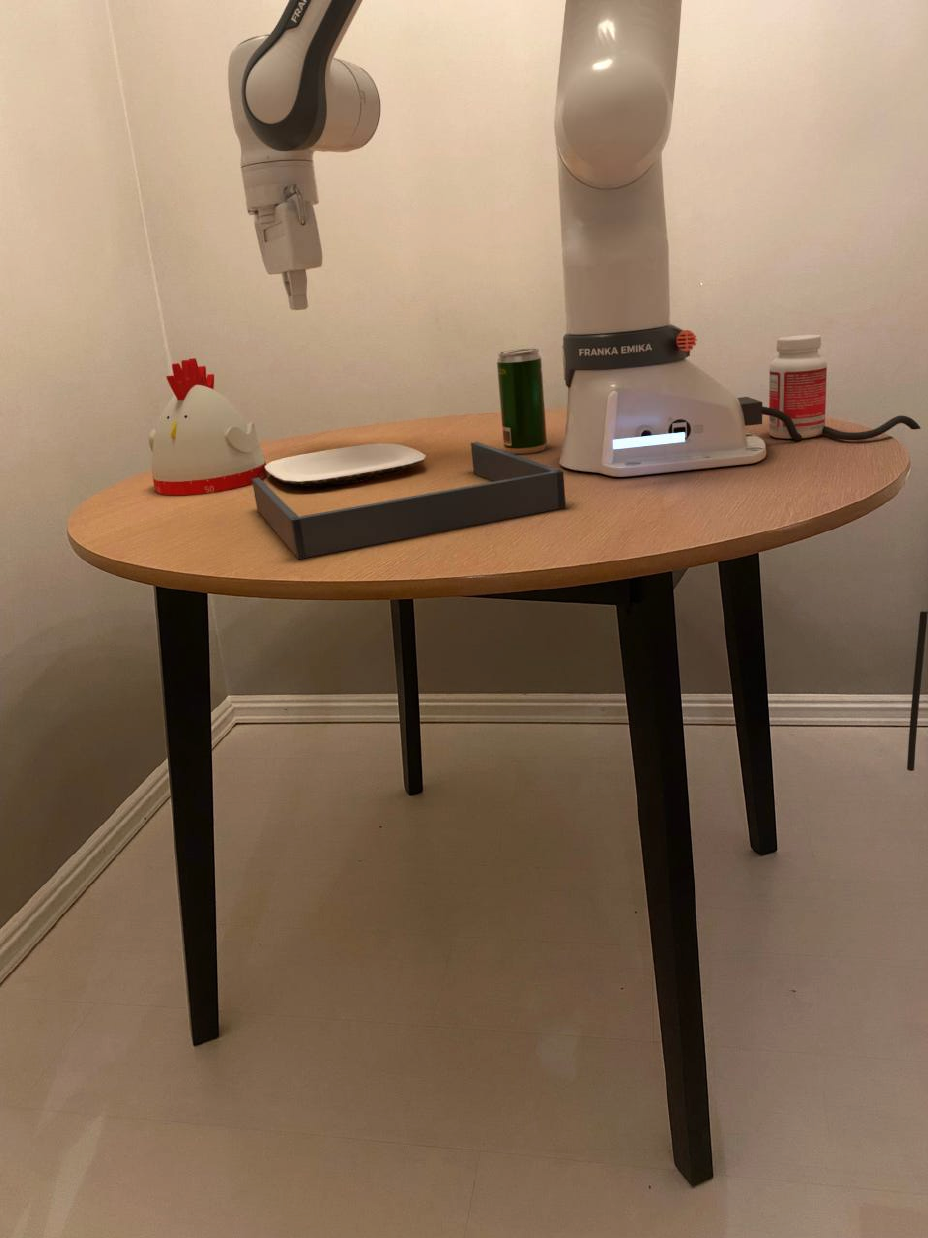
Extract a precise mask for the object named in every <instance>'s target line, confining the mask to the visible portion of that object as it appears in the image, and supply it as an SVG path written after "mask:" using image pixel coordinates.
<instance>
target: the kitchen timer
mask: <svg viewBox="0 0 928 1238" xmlns="http://www.w3.org/2000/svg"><path fill="white" fill-rule="evenodd" d="M180 361H181V362H177V363H171V369H172V374H173V375H166V376H165V377H166V380H167V382H168V385H169V387H170V388H171V390H172V393H173V394H174V395H173V396H172V398H171V399H170V400H169V401H168V402H167V404H166V405H165V406H164V408H163V411H162V412H161V414H160V416H159V419H158V421H157V424H156V427H155V429H152V430H151V431H149V436H148V443H149V448H150V451H151V452H152V453H151V477H152V481H153V485H154V491H155V493H157V494H159V495H165V496H193V495H203V494H204V495H205V494H211V493H218V492H223V491H229V490H234V489H238V488H241V487H246V486H249V485H253V483H252V479H254V478H260V479H261V480H262V481H263V480H264V479H266V478H267V476H268V475H269V473H268V472H266V470H265V466H266V465H267V461H266V457H265V455H264V451H263V449H262V447H261V445H260V443H259V440H258V436H257V430H256V426H255V424H254V422H253V421H250V422H248V419H247V418H246V417H245V416H244V415H243V413H242V412H241V411H240V409H239V408H237V406H235V404H234V403H233V402H232V401H231V400H229V398H227V397H225V396H224V395H223V394H221V393H220V392H219V391H216V390H215V374H214V373H210V374H209V373H208V374H207V367H206V366H205V365H200V366H199V364H198V361H197V358H196V357H193V358H188V359H182V360H180ZM180 363H181V364H180Z"/></svg>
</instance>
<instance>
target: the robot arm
mask: <svg viewBox="0 0 928 1238" xmlns="http://www.w3.org/2000/svg"><path fill="white" fill-rule="evenodd" d="M363 1H364V0H288V2H287V4H286V6H285V8H284V11H283V12H282V14H281V16H280V18H279V20H278V22H277V23H276V24H275V27H274V28H273V30H272V31H271V32H270V33H269V34H263V35H257V36H253V37H250V38H247V39H245V40H243V41H242V42H240V43H238V44H237V46H236V47H235V48H234V49H233V50H232V51H231V52H230V56H229V60H228V65H227V66H228V67H227V82H228V84H227V85H228V86H227V87H228V96H229V104H230V111H231V118H232V124H233V129H234V132H235V134H236V136H237V139H238V142H239V147H240V162H239V163H240V164H239V165H240V171H241V178H242V179H241V180H242V184H243V191H244V196H245V204H246V211H247V213H248V215H249V216H253V223H254V229H255V234H256V238H257V241H258V242H257V243H258V246H259V247H258V248H259V252H260V255H261V259H262V263H263V267H264V268H265V272H266V273H267V274H268V275H269V276H270V275H271V276H272V275H281V278H282V283H283V286H284V289H285V292H286V295H287V298H288V299H287V300H288V305H289V308H290V310H291V311H302V310H307V309H308V307H309V304H308V303H309V302H308V297H307V294H308V293H307V291H308V275H307V270H312V269H317V268H321V267H322V265H323V249H322V244H321V238H320V237H321V236H320V232H319V226H318V222H317V216H316V211H315V208H314V206H315V205H318V204H319V203H320V198H319V192H318V185H317V178H316V171H315V163H314V154H315V152H323V153H328V152H331V153H350V152H352V151H356V150H358V149H359V150H360V149H361V148H363V147H364V146H366V145H367V144H368V143H369V142H370V141H371V139H373V137H374V135H375V134H376V132H377V129H378V127H379V123H380V118H381V98H380V95H379V94H380V93H379V89H378V87H377V85H376V83H375V81H374V79H373V78H372V77H371V74H369V73H368V72H367V71H366V70H365V69H363V68H362V67H360V66H359V65H356V64H355V63H352V62H350V61H348V60H344V59H340V58H337V57H335V55H336V53H337V51H338V50H339V47H340V46H341V43H342V42H343V40H344V38H345V36H346V34H347V32H348V29H349V28H350V26H351V24H352V22H353V20H354V18H355V16H356V14H357V12H358V10H359V8H360V7H361V5H362V3H363ZM682 2H683V0H565V6H564V13H563V14H564V15H563V16H564V17H563V23H562V24H563V25H562V35H561V44H560V55H559V64H558V65H559V66H558V76H557V83H556V84H557V85H556V97H555V106H554V116H553V117H554V118H553V130H554V131H553V132H554V137H555V147H556V149H555V150H556V164H557V178H558V179H557V181H558V198H559V199H558V200H559V218H560V219H559V220H560V221H559V222H560V238H561V259H562V261H561V262H562V263H561V264H562V278H563V297H564V311H565V312H564V314H565V331H566V333H565V334H564V335H563V337H562V346H561V350H562V352H561V353H562V367H563V371H562V372H563V378H564V379H563V380H564V382H565V386H566V387H567V405H566V419H565V429H564V437H563V444H562V448H561V454H560V457H559V461H558V463H559V465H560V466H561V467H563V468H566V469H569V470H574V471H580V472H587V473H599V474H603V475H606V476H610V477H615V478H617V477H618V478H621V477H622V478H624V477H635V476H644V475H645V476H646V475H653V474H664V473H672V472H673V473H674V472H682V471H692V470H693V471H694V470H702V469H710V468H711V469H712V468H720V467H721V468H722V467H730V466H741V465H750V464H755V463H758V462H760V461H762V460H764V459H765V458H766V456H767V444H766V442H765V441H764V440H763V439H762V438H761V437H759V436H757V435H755V434H751V433H747V429H746V427H747V426H755V425H763V416H768V417H769V416H773V417H776V418H778V419H780V420H781V421H783V422H784V424H785V425H786V428H787V430H788V433H789V435H790V436H791V438H792V439H791V440H793V441H794V442H800V441H801V440H803V439H802V437H801V435H800V434H798V432H797V431H796V428H795V426H794V423H793V421H792V420H791V418H790V417H789V416H788V415H787V414H785V413H784V412H782V411H780V410H777V409H773V408H769V406H763V401H761V400H759V399H756V398H752V397H749V396H741V397H737V395H736V394H735V393H734V391H732V389H730V388H729V387H727V386H726V385H725V384H723V383H722V382H720V381H719V380H718V379H717V378H715V377H714V376H712V375H711V374H710V373H708V371H705V370H704V369H702V368H701V367H700V366H698V365H697V364H695V363H694V362H693V361H690V359H688V358H689V357H690V356H691V351H692V350H694V347H695V346H696V345H697V343H696V342H697V341H698V340H697V335H696V334H695V333H694V332H693V331H691V330H689V329H682V328H680V327H678V326H676V325H674V324H672V323H671V307H670V303H671V302H670V301H671V300H670V298H671V297H670V254H669V253H670V252H669V240H668V229H667V228H668V227H667V218H666V216H667V215H666V206H665V205H666V204H665V194H664V193H665V192H664V191H665V189H664V175H663V150H664V148H665V147H666V144H667V142H668V139H669V136H670V132H671V128H672V119H673V111H674V110H673V109H674V101H675V100H674V98H675V90H676V89H675V88H676V79H677V68H678V58H679V57H678V56H679V46H680V33H681V31H680V30H681V20H682V19H681V18H682ZM900 424H903V425H906V426H907V427H908V428H909V429H910V430H921V429H922V428H921V426H920V424H919V423H918V422H917V421H915V419H913V418H912V417H909V416H907V415H903V414H902V415H901V414H900V415H897V416H894V417H892V418H891V419H889V420H887V421H886V422H885V423H883V424H881V425H879V426H878V427H876V428H873V429H871V430H866V431H857V432H855V431H854V432H853V431H852V432H849V431H842V430H838V429H835V428H833V427H831V426H827V425H825V426H824V427H823V431H822V432H823V433H822V434H823V435H827V436H829V437H832V438H833V439H838V440H844V441H863V440H869V439H873V438H876V437H878V436H880V435H883V434H885V433H886V432H888V431H890V430H891V429H893V428H894V427H895V426H897V425H900ZM918 619H919V620H918V621H919V622H918V632H917V643H916V652H915V653H916V654H915V662H914V663H915V665H914V674H913V682H912V684H913V685H912V696H911V705H910V706H911V707H910V719H909V732H908V745H907V746H908V747H907V762H906V770H907V771H909V772H913V771H915V765H916V763H915V761H916V744H917V732H918V718H919V710H920V709H919V708H920V697H921V696H920V695H921V686H922V679H923V678H922V676H923V667H924V666H923V665H924V656H925V645H926V635H927V625H928V610H927V611H919V618H918Z"/></svg>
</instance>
